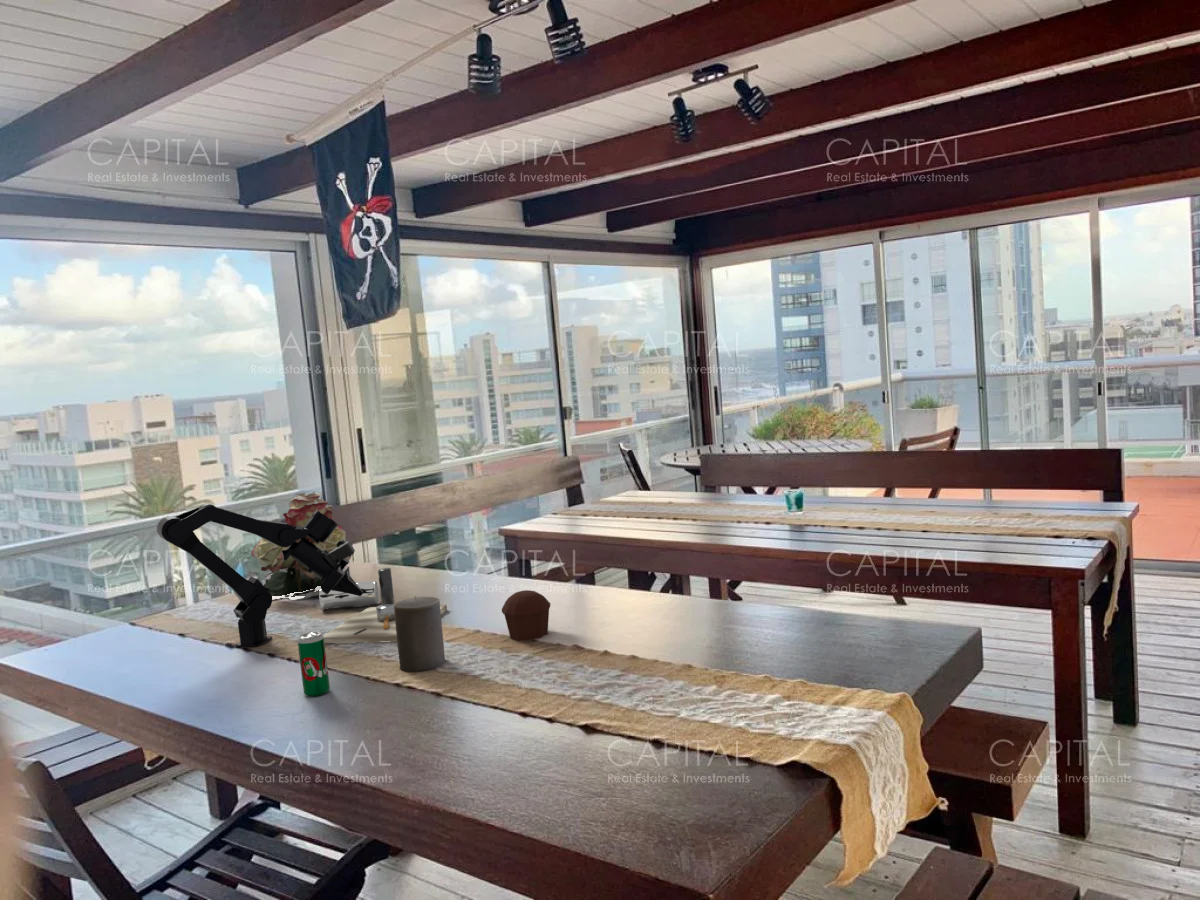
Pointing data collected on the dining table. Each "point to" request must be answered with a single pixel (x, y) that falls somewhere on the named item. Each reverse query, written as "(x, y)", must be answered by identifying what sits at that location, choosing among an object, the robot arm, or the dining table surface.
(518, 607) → the muffin
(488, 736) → the dining table surface
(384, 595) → the cam lever
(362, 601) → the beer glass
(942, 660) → the dining table surface
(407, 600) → the pillar candle
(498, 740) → the dining table surface
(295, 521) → the rose bouquet
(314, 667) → the soda can
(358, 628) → the dial board
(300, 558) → the robot arm
